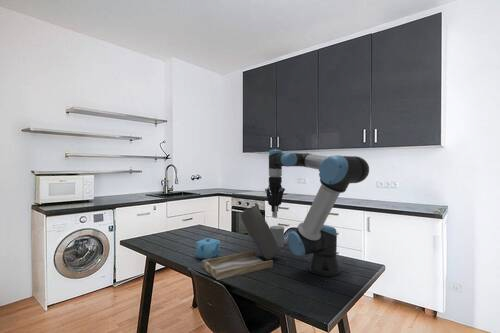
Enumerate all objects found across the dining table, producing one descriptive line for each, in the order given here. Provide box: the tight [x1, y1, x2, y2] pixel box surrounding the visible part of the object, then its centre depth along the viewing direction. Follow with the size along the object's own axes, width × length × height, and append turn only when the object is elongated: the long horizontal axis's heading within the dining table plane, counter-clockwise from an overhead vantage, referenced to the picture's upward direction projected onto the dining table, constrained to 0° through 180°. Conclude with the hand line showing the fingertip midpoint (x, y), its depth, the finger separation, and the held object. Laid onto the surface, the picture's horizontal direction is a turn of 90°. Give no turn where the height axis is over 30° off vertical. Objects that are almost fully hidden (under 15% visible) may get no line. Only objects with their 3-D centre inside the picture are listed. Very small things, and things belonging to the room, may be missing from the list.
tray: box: [201, 250, 274, 281], centre depth 143 cm, size 19×32×4 cm, turn 122°
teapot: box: [195, 237, 222, 260], centre depth 157 cm, size 16×18×11 cm
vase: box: [239, 204, 280, 260], centre depth 157 cm, size 12×12×30 cm
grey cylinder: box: [269, 225, 285, 248], centre depth 183 cm, size 10×10×12 cm
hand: (274, 217), depth 156 cm, fingers closed
